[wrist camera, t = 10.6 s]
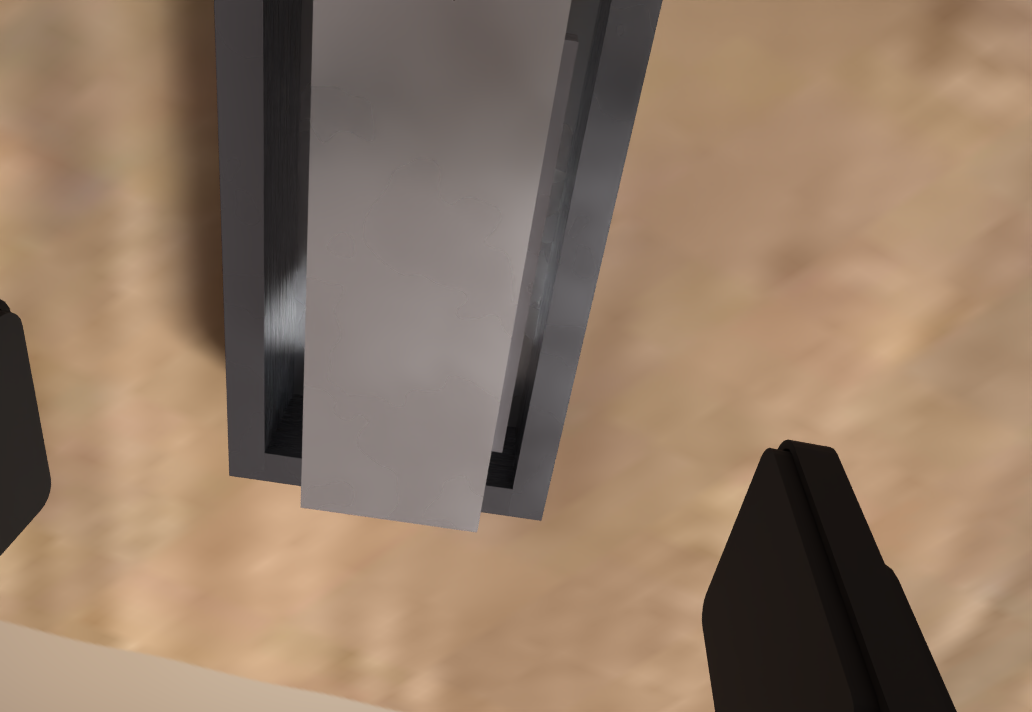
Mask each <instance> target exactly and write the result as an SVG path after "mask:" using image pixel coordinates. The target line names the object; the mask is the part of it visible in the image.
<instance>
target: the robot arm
mask: <svg viewBox="0 0 1032 712" xmlns="http://www.w3.org/2000/svg"><path fill="white" fill-rule="evenodd" d="M50 488H51V477H50V472H49V466H48V461H47V455H46V450H45V445H44V439H43V434H42V428H41V423H40V417H39V412H38V406H37V401H36V396H35V390H34V385H33V379H32V374H31V368H30V363H29V358H28V352H27V347H26V341H25V336H24V330H23V325H22V322H21V319H20V318H19V317H18V315H16V314H14V313H11V311H10V308H9V307H8V305H7V304H6V303H5V302H4V301H3V300H1V299H0V556H1V555H2V553H3V552H4V551H5V550H6V549H7V548H8V547H9V546H10V544H11V543H12V542H13V541H14V540H15V539H16V538H17V536H18V535H19V534H20V533H21V532H22V531H23V530H24V529H25V527H26V526H27V525H28V524H29V523H30V522H31V521H32V520H33V518H34V517H35V516H36V515H37V514H38V513H39V512H40V510H41V509H42V508H43V506H44V505H45V503H46V501H47V499H48V496H49V493H50ZM702 626H703V633H704V640H705V646H706V653H707V660H708V667H709V673H710V680H711V687H712V693H713V700H714V707H715V712H957V711H956V709H955V707H954V704H953V702H952V700H951V698H950V695H949V693H948V691H947V689H946V686H945V684H944V682H943V680H942V677H941V675H940V673H939V671H938V668H937V666H936V664H935V661H934V659H933V657H932V655H931V652H930V650H929V648H928V646H927V643H926V641H925V639H924V637H923V634H922V632H921V630H920V628H919V625H918V623H917V621H916V618H915V616H914V614H913V612H912V609H911V607H910V605H909V603H908V600H907V598H906V596H905V594H904V591H903V589H902V587H901V584H900V582H899V580H898V578H897V577H896V575H895V573H894V572H893V570H892V569H891V568H889V567H888V566H887V565H885V563H884V561H883V559H882V556H881V554H880V552H879V549H878V547H877V545H876V542H875V540H874V538H873V535H872V533H871V531H870V528H869V526H868V524H867V521H866V519H865V517H864V515H863V512H862V510H861V508H860V505H859V503H858V501H857V498H856V496H855V494H854V491H853V489H852V487H851V484H850V482H849V480H848V478H847V475H846V473H845V471H844V468H843V466H842V464H841V461H840V459H839V457H838V454H837V453H836V451H835V450H834V449H833V448H831V447H827V446H821V445H815V444H810V443H804V442H799V441H793V440H785V441H783V442H782V444H781V445H780V446H779V448H778V449H772V448H768V449H766V450H765V451H764V453H763V455H762V457H761V459H760V461H759V464H758V466H757V469H756V471H755V474H754V476H753V479H752V481H751V484H750V486H749V489H748V491H747V494H746V496H745V499H744V501H743V504H742V506H741V509H740V511H739V514H738V516H737V519H736V521H735V524H734V526H733V529H732V531H731V533H730V536H729V538H728V541H727V543H726V546H725V548H724V551H723V553H722V556H721V558H720V561H719V563H718V566H717V568H716V571H715V573H714V576H713V578H712V581H711V583H710V586H709V588H708V591H707V593H706V596H705V599H704V604H703V611H702Z"/></svg>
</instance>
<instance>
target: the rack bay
mask: <svg viewBox="0 0 1032 712" xmlns="http://www.w3.org/2000/svg"><path fill="white" fill-rule="evenodd" d="M661 4H662V0H571V6H570V11H569V17H568V23H567V28H566V33H571V34H577V36H578V41H579V43H578V48H577V54H576V59H575V64H574V70H573V75H572V81H571V86H570V91H569V97H568V102H567V107H566V113H565V118H564V123H563V129H562V134H561V140H560V145H559V150H558V156H557V161H556V166H555V172H554V177H553V183H552V188H551V193H550V199H549V204H548V209H547V215H546V220H545V225H544V231H543V236H542V242H541V247H540V252H539V258H538V263H537V268H536V274H535V279H534V285H533V290H532V295H531V301H530V306H529V311H528V317H527V322H526V328H525V333H524V338H523V344H522V349H521V354H520V360H519V365H518V370H517V376H516V381H515V387H514V392H513V397H512V403H511V408H510V413H509V419H508V424H507V430H506V435H505V440H504V446H503V451H502V453H501V452H494V451H491V457H490V462H489V468H488V474H487V479H486V485H485V490H484V496H483V502H482V507H481V512H484V513H491V514H498V515H505V516H512V517H519V518H526V519H533V520H540V521H541V520H542V515H543V511H544V507H545V502H546V498H547V494H548V489H549V485H550V481H551V477H552V472H553V468H554V464H555V459H556V455H557V451H558V447H559V442H560V438H561V434H562V429H563V425H564V421H565V417H566V412H567V408H568V404H569V399H570V395H571V391H572V386H573V382H574V378H575V374H576V369H577V365H578V361H579V356H580V352H581V348H582V344H583V339H584V335H585V331H586V326H587V322H588V318H589V313H590V309H591V305H592V301H593V296H594V292H595V288H596V283H597V279H598V275H599V271H600V266H601V262H602V258H603V253H604V249H605V245H606V240H607V236H608V232H609V228H610V223H611V219H612V215H613V210H614V206H615V202H616V198H617V193H618V189H619V185H620V180H621V176H622V172H623V168H624V163H625V159H626V155H627V150H628V146H629V142H630V137H631V133H632V129H633V125H634V120H635V116H636V112H637V107H638V103H639V99H640V95H641V90H642V86H643V82H644V77H645V73H646V69H647V64H648V60H649V56H650V52H651V47H652V43H653V39H654V34H655V30H656V26H657V22H658V17H659V13H660V9H661ZM214 13H215V44H216V75H217V107H218V138H219V169H220V200H221V231H222V262H223V294H224V325H225V356H226V387H227V418H228V449H229V476H235V477H242V478H249V479H256V480H263V481H270V482H277V483H283V484H290V485H297V486H301V476H302V436H303V396H304V355H305V315H306V275H307V235H308V194H309V154H310V114H311V73H312V33H313V0H214Z"/></svg>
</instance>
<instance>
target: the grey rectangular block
mask: <svg viewBox="0 0 1032 712" xmlns="http://www.w3.org/2000/svg"><path fill="white" fill-rule="evenodd" d="M570 6H571V0H313V33H312V73H311V114H310V154H309V194H308V235H307V275H306V315H305V355H304V396H303V436H302V476H301V508H308V509H315V510H322V511H329V512H336V513H343V514H350V515H358V516H365V517H372V518H379V519H386V520H393V521H400V522H407V523H414V524H421V525H428V526H435V527H442V528H449V529H456V530H464V531H471V532H477V530H478V524H479V519H480V513H481V507H482V502H483V496H484V490H485V485H486V479H487V474H488V468H489V462H490V457H491V451H494V452H501V453H502V451H503V446H504V440H505V435H506V430H507V424H508V419H509V413H510V408H511V403H512V397H513V392H514V387H515V381H516V376H517V370H518V365H519V360H520V354H521V349H522V344H523V338H524V333H525V328H526V322H527V317H528V311H529V306H530V301H531V295H532V290H533V285H534V279H535V274H536V268H537V263H538V258H539V252H540V247H541V242H542V236H543V231H544V225H545V220H546V215H547V209H548V204H549V199H550V193H551V188H552V183H553V177H554V172H555V166H556V161H557V156H558V150H559V145H560V140H561V134H562V129H563V123H564V118H565V113H566V107H567V102H568V97H569V91H570V86H571V81H572V75H573V70H574V64H575V59H576V54H577V48H578V43H579V41H578V36H577V34H571V33H566V28H567V23H568V17H569V11H570Z"/></svg>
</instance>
